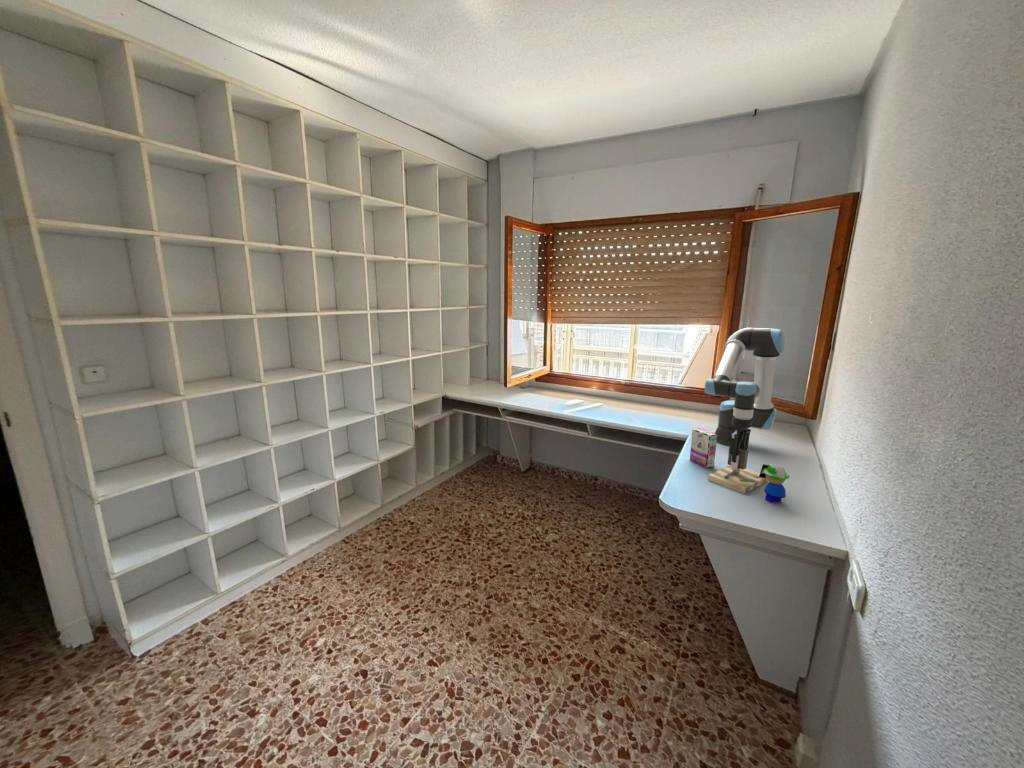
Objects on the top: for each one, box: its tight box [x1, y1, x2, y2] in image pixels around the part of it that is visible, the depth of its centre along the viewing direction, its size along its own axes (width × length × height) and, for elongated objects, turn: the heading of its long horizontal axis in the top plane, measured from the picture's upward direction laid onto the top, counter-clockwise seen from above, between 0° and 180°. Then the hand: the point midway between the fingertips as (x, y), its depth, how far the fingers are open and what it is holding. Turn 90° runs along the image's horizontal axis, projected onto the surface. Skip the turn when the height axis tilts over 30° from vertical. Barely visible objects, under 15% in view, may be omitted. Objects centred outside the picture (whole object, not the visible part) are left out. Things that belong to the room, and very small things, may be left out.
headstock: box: [707, 465, 769, 494], centre depth 182 cm, size 20×16×3 cm
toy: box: [759, 463, 790, 504], centre depth 164 cm, size 9×9×15 cm
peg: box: [724, 447, 749, 477], centre depth 181 cm, size 11×7×11 cm, turn 125°
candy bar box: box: [689, 427, 717, 469], centre depth 199 cm, size 11×5×16 cm, turn 21°
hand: (736, 467), depth 184 cm, fingers open, 4 cm apart
